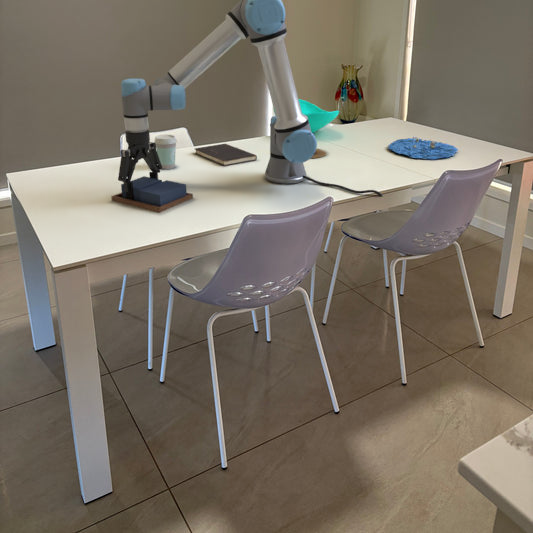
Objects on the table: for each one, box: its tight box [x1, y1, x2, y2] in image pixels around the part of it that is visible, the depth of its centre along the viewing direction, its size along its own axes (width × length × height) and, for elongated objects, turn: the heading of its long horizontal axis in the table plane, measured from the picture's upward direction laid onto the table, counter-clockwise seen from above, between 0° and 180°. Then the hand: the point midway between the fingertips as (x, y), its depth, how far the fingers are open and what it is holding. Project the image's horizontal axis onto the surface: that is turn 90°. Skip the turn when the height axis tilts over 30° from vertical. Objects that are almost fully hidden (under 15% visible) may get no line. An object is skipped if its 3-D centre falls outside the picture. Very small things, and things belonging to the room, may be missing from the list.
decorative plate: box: [387, 136, 459, 160], centre depth 256 cm, size 30×30×5 cm
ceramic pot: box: [310, 136, 327, 159], centre depth 250 cm, size 18×18×7 cm
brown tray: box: [111, 192, 194, 213], centre depth 194 cm, size 21×17×2 cm
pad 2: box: [140, 179, 188, 207], centre depth 191 cm, size 8×13×5 cm, turn 148°
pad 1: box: [120, 176, 163, 202], centre depth 195 cm, size 8×11×5 cm
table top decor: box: [272, 98, 340, 134], centre depth 284 cm, size 40×28×13 cm
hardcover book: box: [194, 143, 258, 167], centre depth 244 cm, size 16×23×2 cm
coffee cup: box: [153, 134, 178, 170], centre depth 228 cm, size 9×9×12 cm
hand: (142, 195), depth 196 cm, fingers closed on pad 1, 11 cm apart
